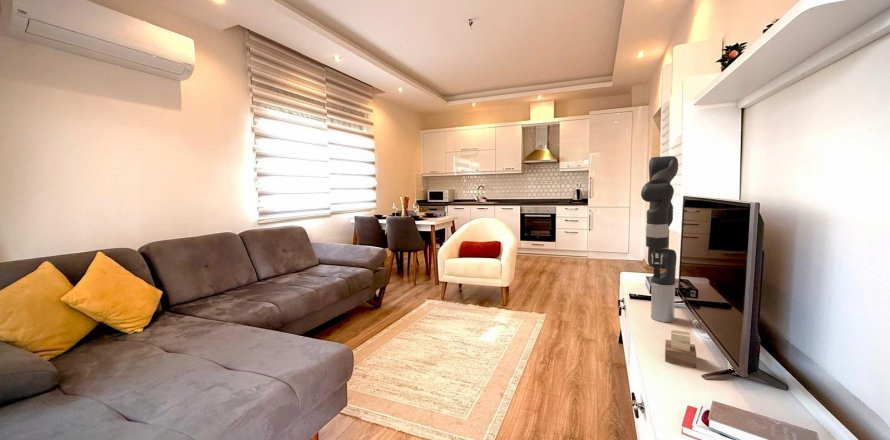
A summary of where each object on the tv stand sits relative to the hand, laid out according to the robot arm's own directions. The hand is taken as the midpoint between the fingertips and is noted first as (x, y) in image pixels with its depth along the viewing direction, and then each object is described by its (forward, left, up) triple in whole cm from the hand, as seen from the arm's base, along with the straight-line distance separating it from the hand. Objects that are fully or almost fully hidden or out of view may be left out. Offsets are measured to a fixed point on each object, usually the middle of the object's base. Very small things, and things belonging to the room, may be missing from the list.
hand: (656, 275), depth 136 cm
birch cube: (+11, +8, -23) cm, 27 cm away
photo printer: (+11, +24, -28) cm, 38 cm away
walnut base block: (+11, +8, -27) cm, 31 cm away
